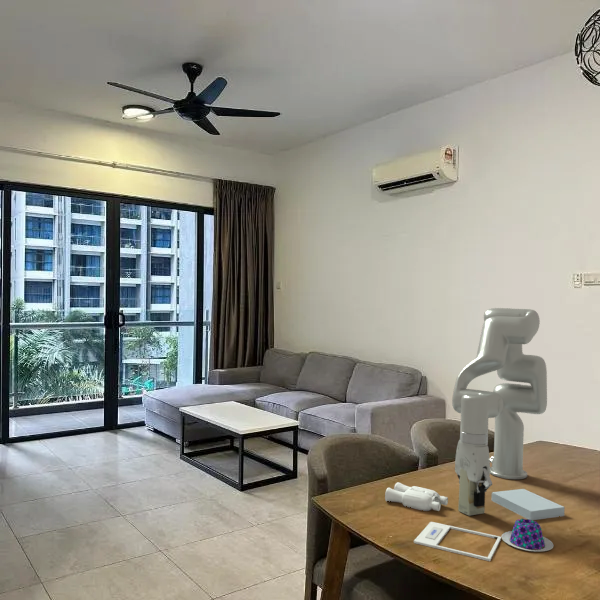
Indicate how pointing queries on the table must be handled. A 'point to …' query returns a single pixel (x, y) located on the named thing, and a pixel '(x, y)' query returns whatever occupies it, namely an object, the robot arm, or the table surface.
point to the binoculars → (415, 497)
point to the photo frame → (438, 531)
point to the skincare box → (468, 496)
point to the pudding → (527, 536)
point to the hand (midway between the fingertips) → (472, 501)
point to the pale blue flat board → (528, 504)
